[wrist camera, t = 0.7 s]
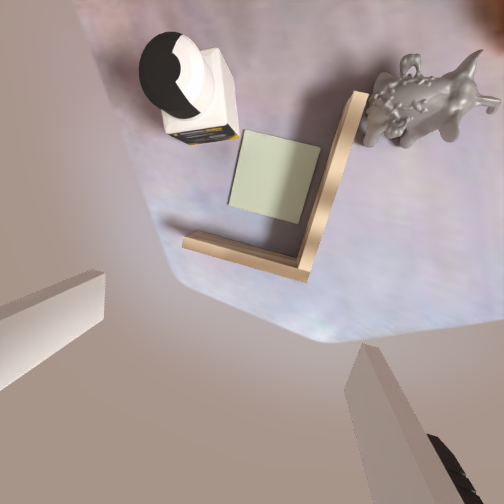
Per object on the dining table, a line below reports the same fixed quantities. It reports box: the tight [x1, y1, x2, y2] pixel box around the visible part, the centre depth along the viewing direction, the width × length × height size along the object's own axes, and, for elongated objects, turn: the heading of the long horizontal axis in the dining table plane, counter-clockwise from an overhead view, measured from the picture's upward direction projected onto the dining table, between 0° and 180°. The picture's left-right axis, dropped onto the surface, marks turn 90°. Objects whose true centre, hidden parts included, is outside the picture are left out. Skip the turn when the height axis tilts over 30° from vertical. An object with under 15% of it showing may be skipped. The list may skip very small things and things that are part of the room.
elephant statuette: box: [363, 50, 501, 148], centre depth 25 cm, size 9×12×8 cm
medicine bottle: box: [139, 32, 239, 145], centre depth 26 cm, size 7×7×12 cm
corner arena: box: [182, 91, 369, 283], centre depth 31 cm, size 21×16×5 cm
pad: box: [229, 130, 321, 224], centre depth 33 cm, size 10×10×1 cm
